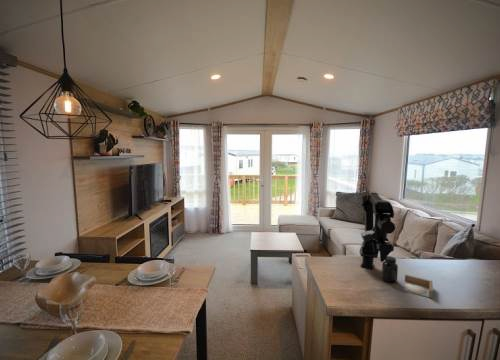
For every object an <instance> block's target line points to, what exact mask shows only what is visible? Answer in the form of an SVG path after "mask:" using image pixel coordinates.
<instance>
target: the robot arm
mask: <svg viewBox="0 0 500 360" xmlns="http://www.w3.org/2000/svg"><path fill="white" fill-rule="evenodd" d="M360 207H361V210H362V212H363V213H364V231H362V232H360V236H361V238H362V240H363V241H362V243H361V246H360V248H359V255H360V257H362V259H361V261H362V262H361V264H360V265H359V267H361V268H365V269H369V270H374V268H375V264H374V259H378V257H379V260H380V262H381V263H383V262H384V261H385V259H386V257H387V256H390V254H391V253H393V252H394V249H395V247H394V245H392V243H391V242H390V241H389V238H388V234H393V233H394V232H395V230H396V225H395V224H394V222H393V221H392V219H394V218H395V211H394V207H393V204H391V202H390V201H388V200H384V199H382V198H381V197H380V196H379V194H378V193H377V192H367V194H366V195H362V196H361V199H360Z"/></svg>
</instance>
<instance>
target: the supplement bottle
mask: <svg viewBox="0 0 500 360" xmlns="http://www.w3.org/2000/svg"><path fill="white" fill-rule="evenodd" d="M381 268H382V269H381V280H382V281H383V282H385V283H386V284H387V283H388V284H391V285H394V284H397V283H398V274H399V271H398V270H399V265H398V264H397V259H396V257H394V256H390V255H388V256H387V257H386V259H385V260H384V261H383V262H382V266H381Z"/></svg>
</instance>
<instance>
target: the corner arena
mask: <svg viewBox="0 0 500 360" xmlns="http://www.w3.org/2000/svg"><path fill="white" fill-rule="evenodd" d="M403 283H404V284H403V288H402V289H403V290H402V291H404V292H407V293H410V294H414V295H417V296H420V297H421V296H422V297H425V298H429V299H430V300H431V299H433V295H434V294H433V293H434V286H433V283H434V282H433V280H429V279H425V278H421V277H417V276H413V275H409V274H405V275H404V282H403Z"/></svg>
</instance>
